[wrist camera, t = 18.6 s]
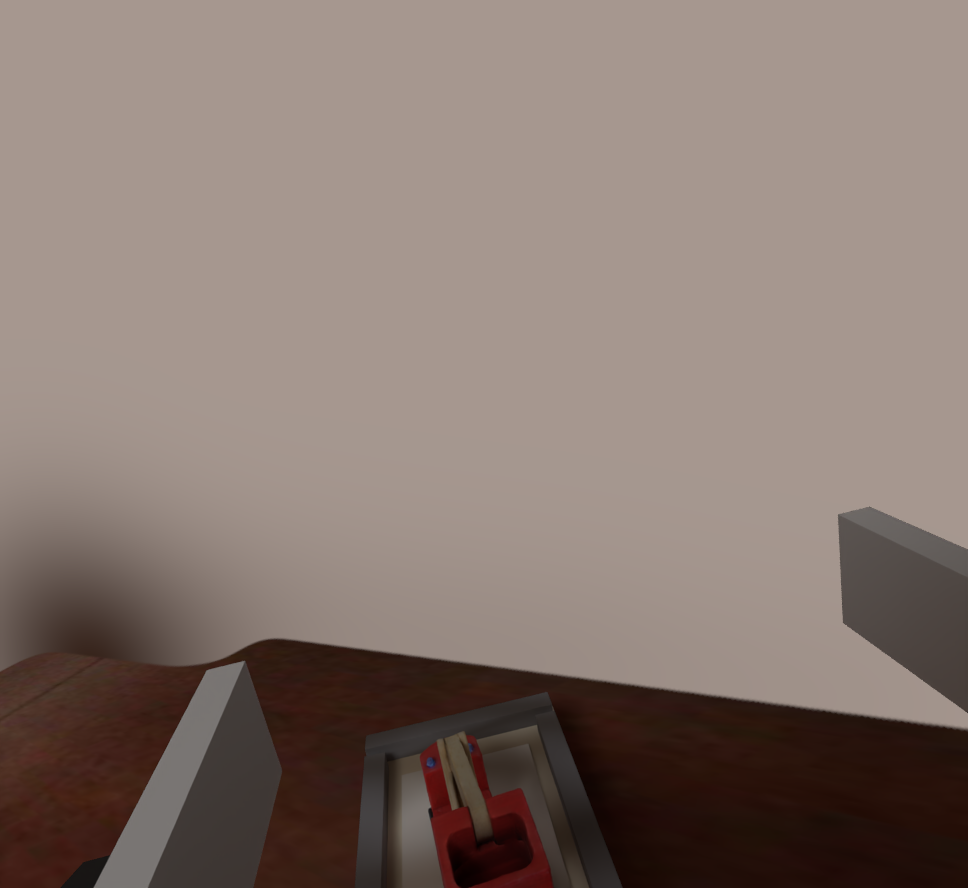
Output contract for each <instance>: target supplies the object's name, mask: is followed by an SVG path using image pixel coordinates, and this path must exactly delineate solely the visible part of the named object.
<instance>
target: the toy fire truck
mask: <svg viewBox="0 0 968 888" xmlns="http://www.w3.org/2000/svg"><path fill="white" fill-rule="evenodd" d="M420 762H421V767H422V771H423V776H424V780H425V784H426V789H427V793H428V797H429V802H430V805H431V808H429V809H428V813H429V818H430V822H431V826H432V831H433V835H434V841H435V846H436V851H437V856H438V861H439V866H440V871H441V876H442V882H443V886H444V888H554V885H553V878H552V874H551V868H550V865H549V862H548V859H547V856H546V853H545V851H544V848H543V845H542V842H541V839H540V836H539V834H538V831H537V827H536V825H535V822H534V819H533V817H532V814H531V812H530V809H529V806H528V803H527V801H526V797H525V796H524V793H523V790H522V789H521V788H517V789H515V790H511V791H508V792H505V793H502V794H499V795H496V796H493V797H492V794H491V792H490V790H489V785H488V781H487V775H486V772H485V767H484V762H483V757H482V753H481V751H480V748H479V746H478V743H477V740H476V738H475V737H474V736H472V735H466V734H465V732H464V731H462V732H459V733H457V734H455V735H453V736H450V737H447V738H442V739H438V740H437V742H435V743H433V744H432V745H430V746H429V747H428V748H427V749H426V750H424V751H423V752H422V753H421V755H420Z"/></svg>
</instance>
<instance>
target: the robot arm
mask: <svg viewBox="0 0 968 888" xmlns="http://www.w3.org/2000/svg"><path fill="white" fill-rule="evenodd" d="M838 523H839V544H840V566H841V586H842V588H841V589H842V610H843V623H844V624H845V625H847V626H848V627H850V628H851V629H852V630H854V631H855V632H856V633H858V634H859V635H861V636H862V637H863V638H865V639H866V640H868V641H869V642H870V643H872V644H873V645H874V646H876V647H877V648H879V649H880V650H882V651H883V652H884V653H885V654H887V655H888V656H890V657H891V658H892V659H894V660H895V661H897V662H898V663H899V664H901V665H903V666H904V667H905V668H906V669H908V670H909V671H911V672H912V673H913V674H915V675H916V676H917V677H919V678H920V679H921V680H923V681H924V682H926V683H927V684H928V685H930V686H931V687H933V688H934V689H935V690H937V691H938V692H940V693H941V694H942V695H944V696H945V697H946V698H948V699H949V700H951V701H952V702H953V703H955V704H956V705H958V706H959V707H961V708H962V709H963V710H964V711H966V712H967V713H968V549H965V548H963V547H961V546H959V545H956V544H953V543H951V542H949V541H947V540H945V539H942V538H940V537H938V536H936V535H933V534H931V533H929V532H926V531H924V530H922V529H919V528H917V527H915V526H912V525H910V524H908V523H906V522H903V521H901V520H899V519H896V518H894V517H892V516H890V515H887V514H885V513H883V512H880V511H878V510H876V509H873V508H871V507H867V508H863V509H859V510H855V511H851V512H847V513H843V514H839V515H838ZM281 773H282V769H281V766H280V763H279V760H278V757H277V754H276V751H275V748H274V745H273V742H272V739H271V736H270V734H269V731H268V728H267V725H266V722H265V719H264V716H263V713H262V710H261V707H260V704H259V701H258V698H257V695H256V692H255V689H254V686H253V683H252V680H251V677H250V674H249V671H248V668H247V665H246V662H245V661H243V662H239V663H235V664H230V665H226V666H222V667H218V668H214V669H210V670H207V671H206V673H205V675H204V677H203V679H202V681H201V683H200V685H199V687H198V689H197V690H196V692H195V694H194V696H193V698H192V700H191V702H190V704H189V706H188V708H187V710H186V712H185V713H184V715H183V717H182V719H181V721H180V723H179V725H178V727H177V729H176V731H175V733H174V735H173V737H172V738H171V740H170V742H169V744H168V746H167V748H166V750H165V752H164V754H163V756H162V758H161V760H160V761H159V763H158V765H157V767H156V769H155V771H154V773H153V775H152V777H151V779H150V781H149V783H148V784H147V786H146V788H145V790H144V792H143V794H142V796H141V798H140V800H139V802H138V804H137V806H136V808H135V809H134V811H133V813H132V815H131V817H130V819H129V821H128V823H127V825H126V827H125V829H124V831H123V832H122V834H121V836H120V838H119V840H118V842H117V844H116V846H115V848H114V850H113V852H112V854H111V855H109V856H105V857H102V858H98V859H94V860H90V861H87V862H83V864H82V865H81V866H80V867H79V868H78V869H77V870H76V871H75V872H74V873H73V875H72V876H71V877H70V878H69V879H68V880H67V881H66V882H65V883H64V884H63V886H62V887H61V888H253V885H254V881H255V877H256V873H257V869H258V865H259V861H260V857H261V853H262V849H263V845H264V841H265V837H266V833H267V829H268V825H269V821H270V817H271V813H272V809H273V805H274V801H275V797H276V793H277V789H278V785H279V781H280V777H281Z"/></svg>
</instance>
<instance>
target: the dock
mask: <svg viewBox="0 0 968 888" xmlns="http://www.w3.org/2000/svg"><path fill="white" fill-rule="evenodd" d="M462 731H464V732H465V734H466V735H472V736H474V737H475V738H476V740H477V743H478V746H479V748H480V751H481V753H482V757H483V762H484V767H485V772H486V775H487V781H488V785H489V790H490V792H491V794H492V797H493V796H496V795H499V794H502V793H505V792H508V791H511V790H515V789H517V788H521V789H522V790H523V793H524V796H525V797H526V801H527V803H528V806H529V809H530V812H531V814H532V817H533V819H534V822H535V825H536V827H537V831H538V834H539V836H540V839H541V842H542V845H543V848H544V851H545V853H546V856H547V859H548V862H549V865H550V868H551V874H552V878H553V885H554V888H622V885H621V882H620V880H619V877H618V875H617V872H616V869H615V867H614V864H613V862H612V859H611V856H610V854H609V851H608V849H607V846H606V843H605V841H604V838H603V836H602V833H601V830H600V828H599V825H598V823H597V820H596V817H595V815H594V812H593V810H592V807H591V804H590V802H589V799H588V797H587V794H586V791H585V789H584V786H583V784H582V781H581V778H580V776H579V773H578V771H577V768H576V765H575V763H574V760H573V758H572V755H571V752H570V750H569V747H568V745H567V742H566V739H565V737H564V734H563V732H562V729H561V726H560V724H559V721H558V719H557V716H556V713H555V711H554V709H553V706H552V703H551V700H550V698H549V695H548V693H547V692H546V693H542V694H537V695H533V696H529V697H525V698H521V699H517V700H513V701H508V702H504V703H500V704H496V705H492V706H488V707H484V708H479V709H475V710H471V711H467V712H463V713H459V714H455V715H450V716H446V717H442V718H438V719H434V720H430V721H426V722H421V723H417V724H413V725H409V726H405V727H401V728H397V729H392V730H388V731H384V732H380V733H376V734H372V735H368V736H366V746H365V751H366V755H367V756H366V757H365V759H364V773H363V786H362V799H361V813H360V826H359V839H358V853H357V866H356V880H355V888H444V886H443V882H442V876H441V871H440V866H439V861H438V856H437V851H436V846H435V841H434V835H433V831H432V826H431V822H430V818H429V813H428V809H429V808H431V805H430V802H429V797H428V793H427V789H426V784H425V780H424V776H423V771H422V767H421V762H420V755H421V753H422V752H423V751H424V750H426V749H427V748H428V747H429V746H430V745H432V744H433V743H435V742H437V740H438V739H442V738H447V737H450V736H453V735H455V734H457V733H459V732H462Z"/></svg>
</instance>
